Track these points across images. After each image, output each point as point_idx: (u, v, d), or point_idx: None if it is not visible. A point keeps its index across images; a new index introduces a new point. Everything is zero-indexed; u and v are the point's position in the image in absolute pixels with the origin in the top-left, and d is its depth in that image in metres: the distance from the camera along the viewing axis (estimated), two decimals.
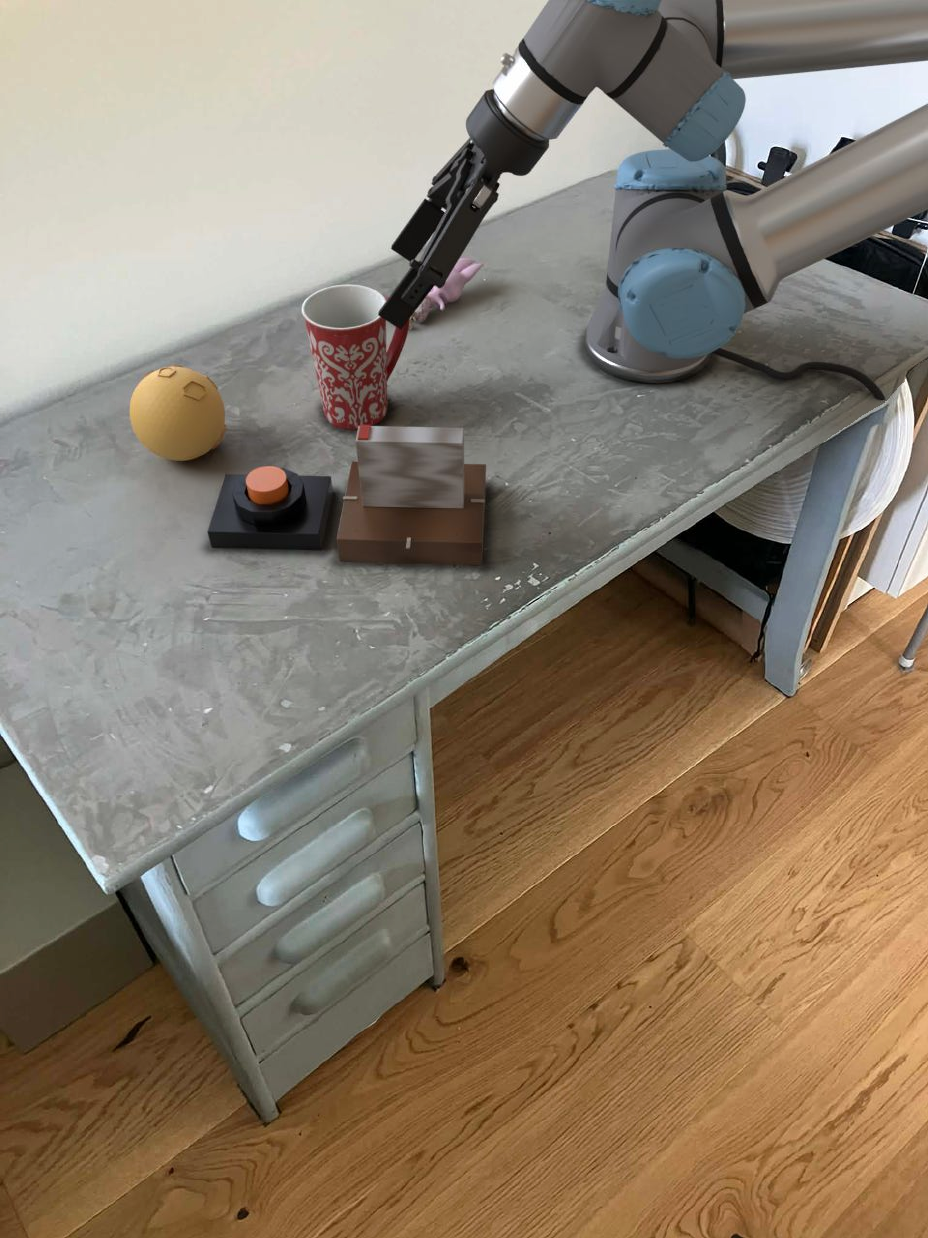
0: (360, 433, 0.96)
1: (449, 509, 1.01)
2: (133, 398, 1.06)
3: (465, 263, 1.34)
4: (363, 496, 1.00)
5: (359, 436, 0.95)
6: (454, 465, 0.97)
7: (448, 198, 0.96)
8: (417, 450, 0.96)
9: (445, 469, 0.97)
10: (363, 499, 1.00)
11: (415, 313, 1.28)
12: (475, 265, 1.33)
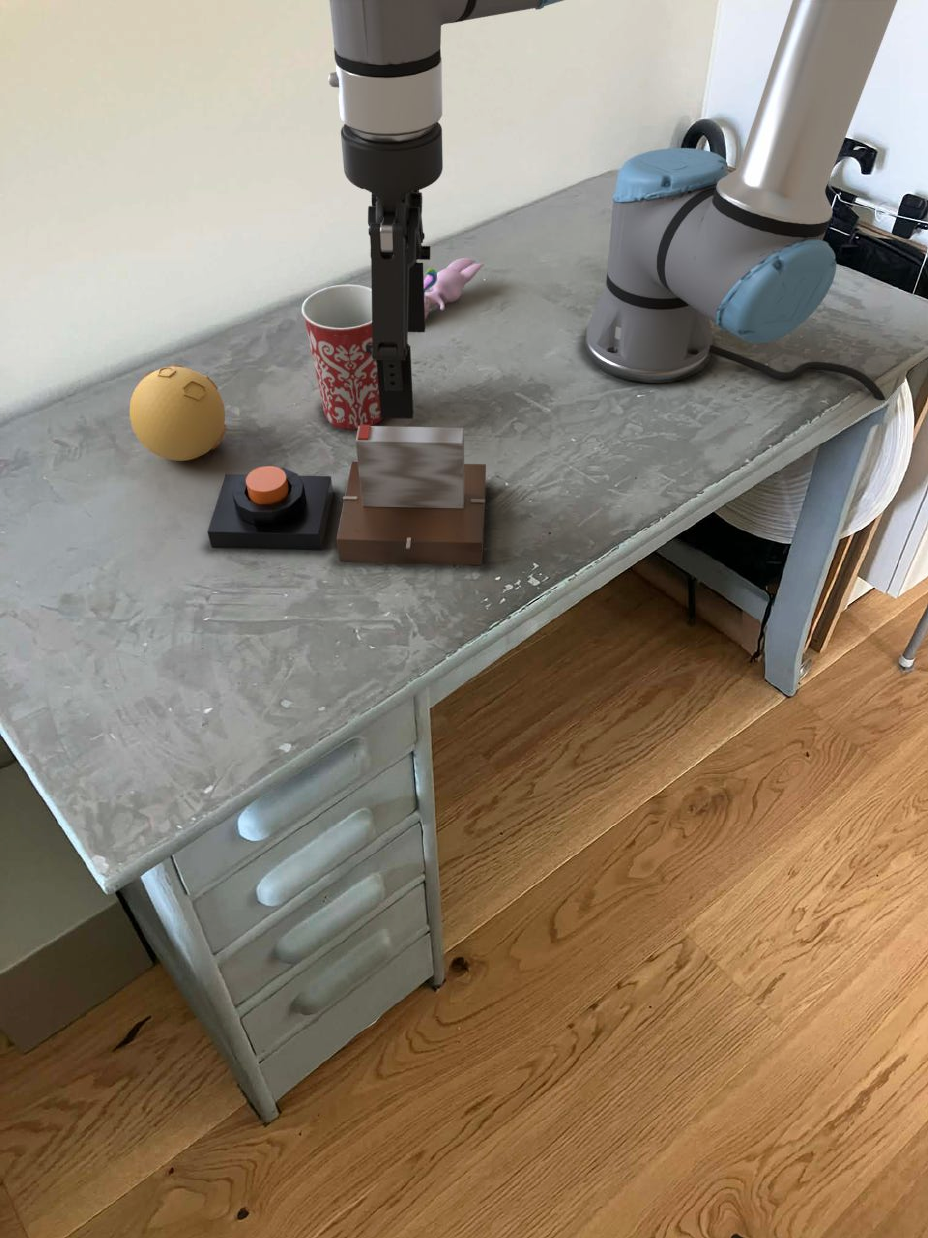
0: (360, 433, 0.96)
1: (449, 509, 1.01)
2: (133, 398, 1.06)
3: (465, 263, 1.34)
4: (363, 496, 1.00)
5: (359, 436, 0.95)
6: (454, 465, 0.97)
7: None
8: (417, 450, 0.96)
9: (445, 469, 0.97)
10: (363, 499, 1.00)
11: None
12: (475, 265, 1.33)
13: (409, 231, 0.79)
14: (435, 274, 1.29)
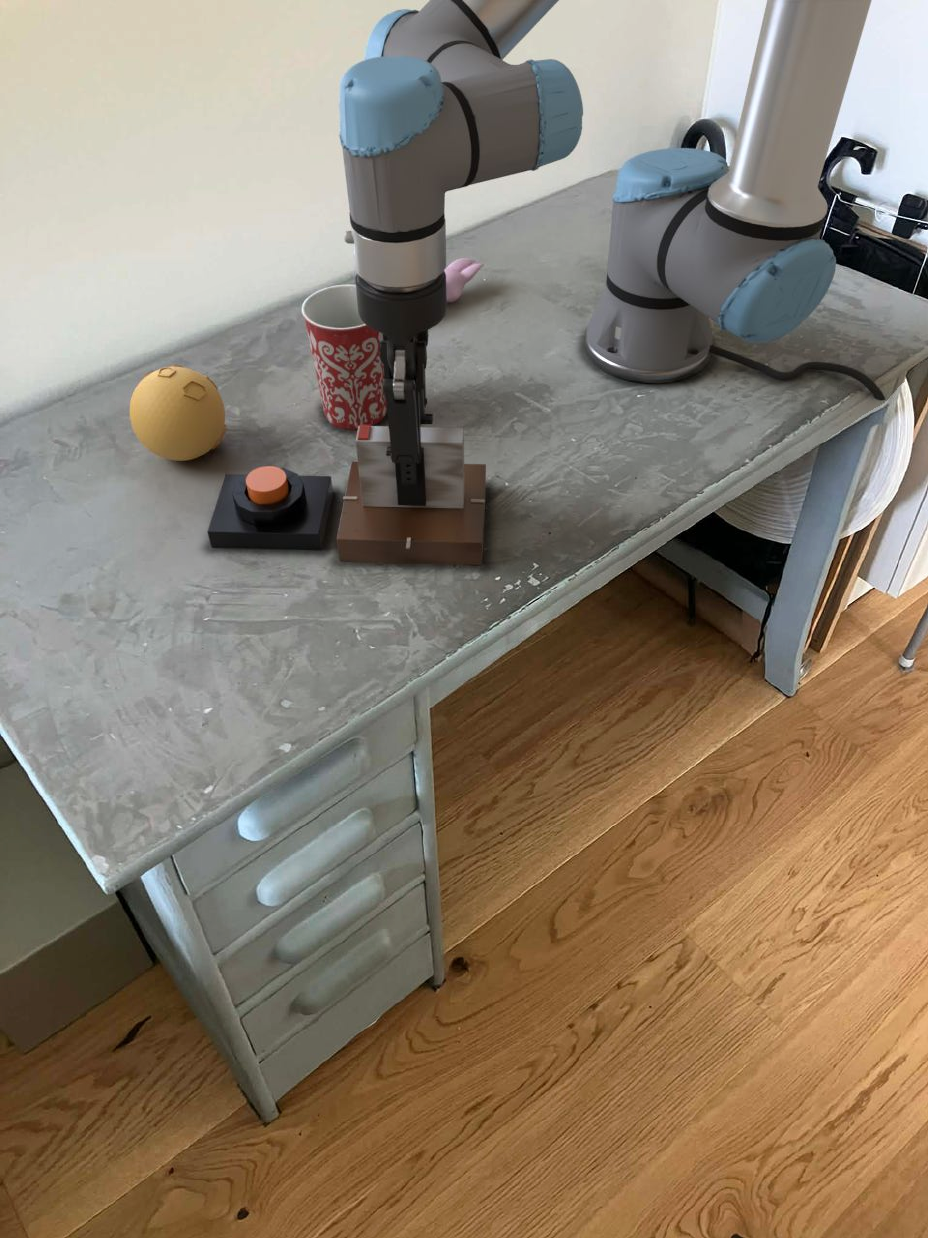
0: (360, 433, 0.96)
1: (449, 509, 1.01)
2: (133, 398, 1.06)
3: (465, 263, 1.34)
4: (363, 496, 1.00)
5: (359, 436, 0.95)
6: (454, 465, 0.97)
7: None
8: None
9: (445, 469, 0.97)
10: (363, 499, 1.00)
11: None
12: (475, 265, 1.33)
13: (417, 366, 0.88)
14: None
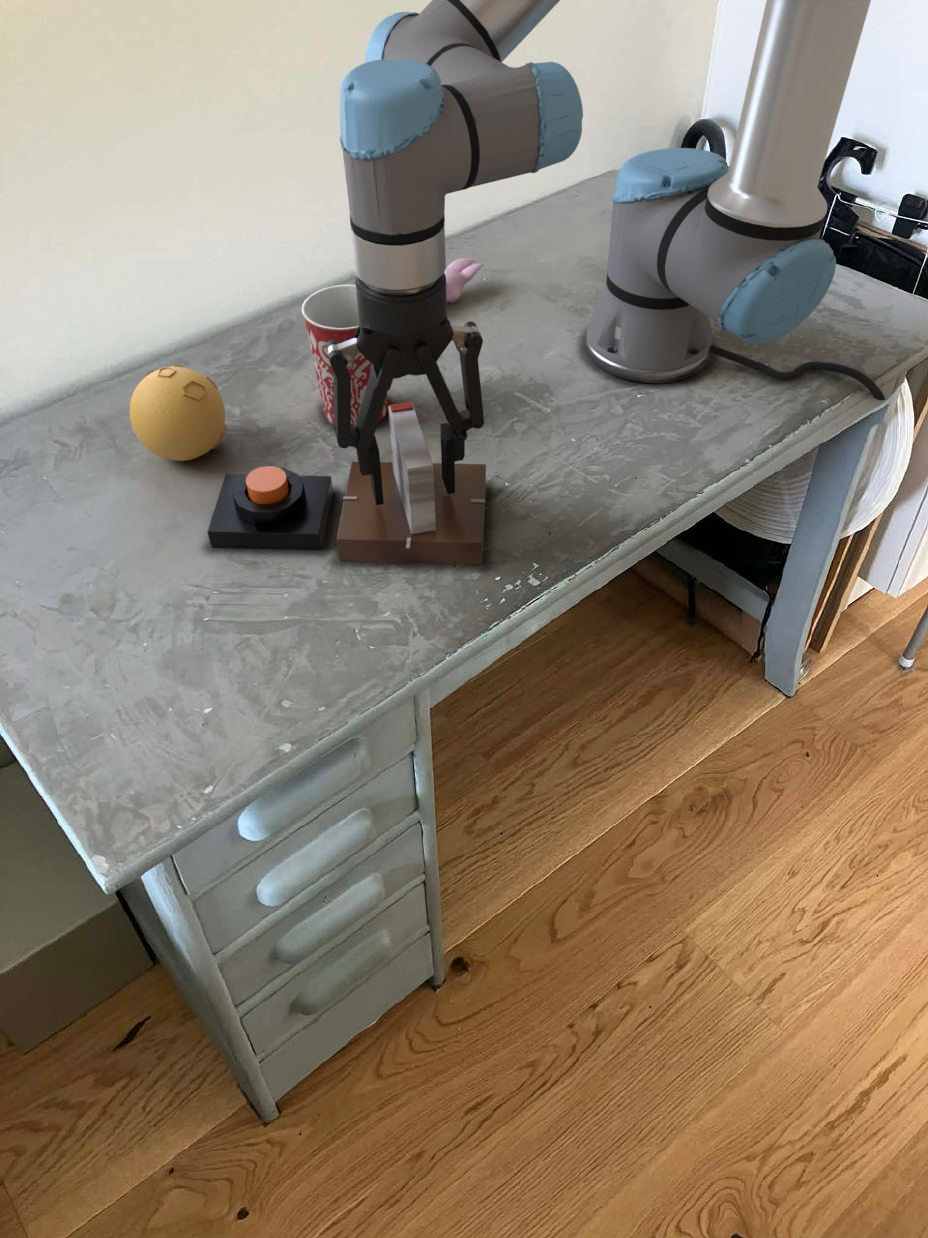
0: (397, 404, 0.99)
1: (449, 509, 1.01)
2: (133, 398, 1.06)
3: (465, 263, 1.34)
4: (392, 461, 1.04)
5: (392, 405, 0.99)
6: (407, 485, 0.95)
7: None
8: (399, 449, 0.96)
9: (405, 484, 0.96)
10: None
11: None
12: (475, 265, 1.33)
13: (381, 364, 0.88)
14: None
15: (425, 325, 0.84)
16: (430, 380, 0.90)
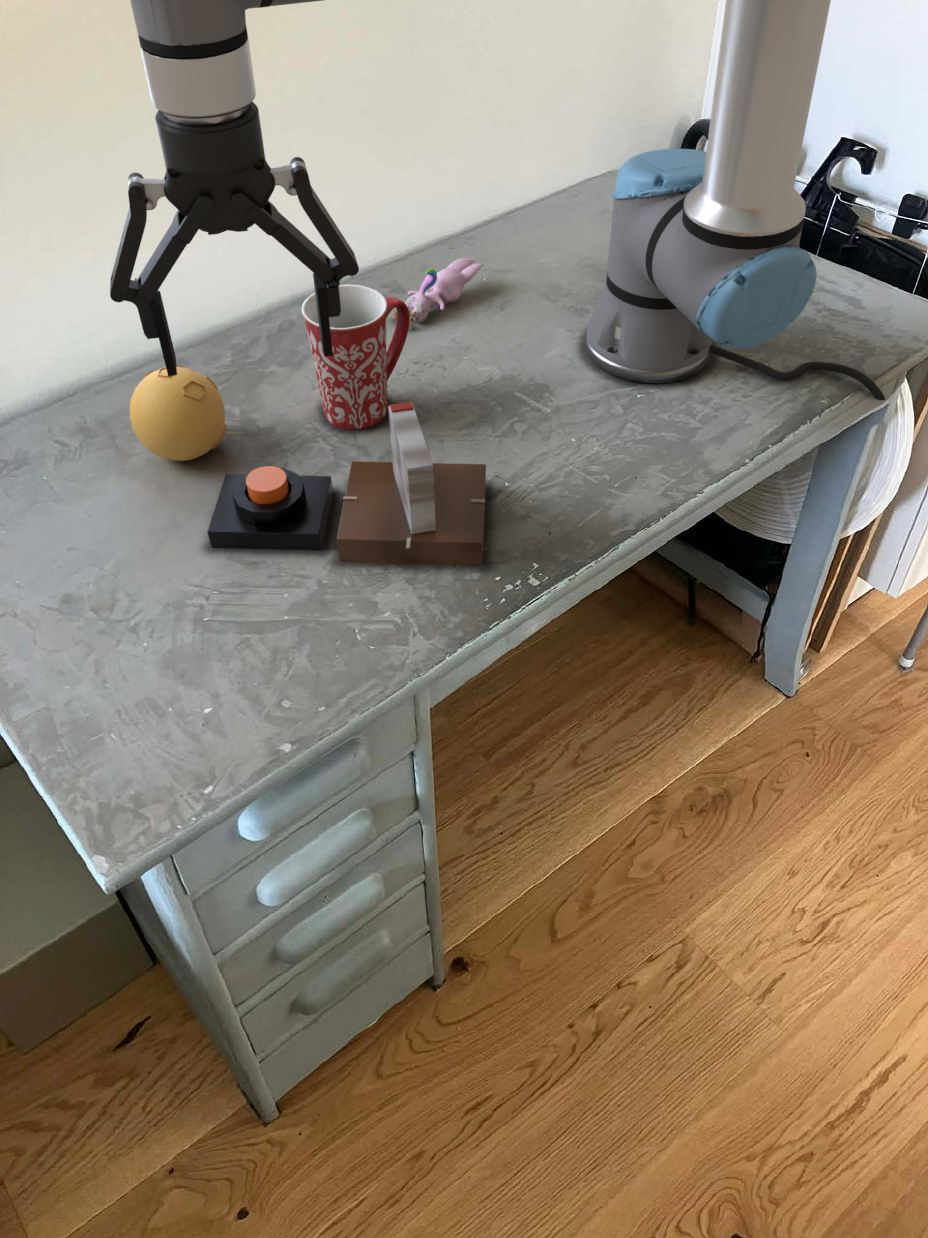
0: (397, 404, 0.99)
1: (449, 509, 1.01)
2: (133, 398, 1.06)
3: (465, 263, 1.34)
4: (392, 461, 1.04)
5: (392, 405, 0.99)
6: (407, 485, 0.95)
7: None
8: (399, 449, 0.96)
9: (405, 484, 0.96)
10: None
11: (415, 313, 1.28)
12: (475, 265, 1.33)
13: (189, 210, 0.79)
14: (435, 274, 1.29)
15: (233, 163, 0.75)
16: (265, 230, 0.81)
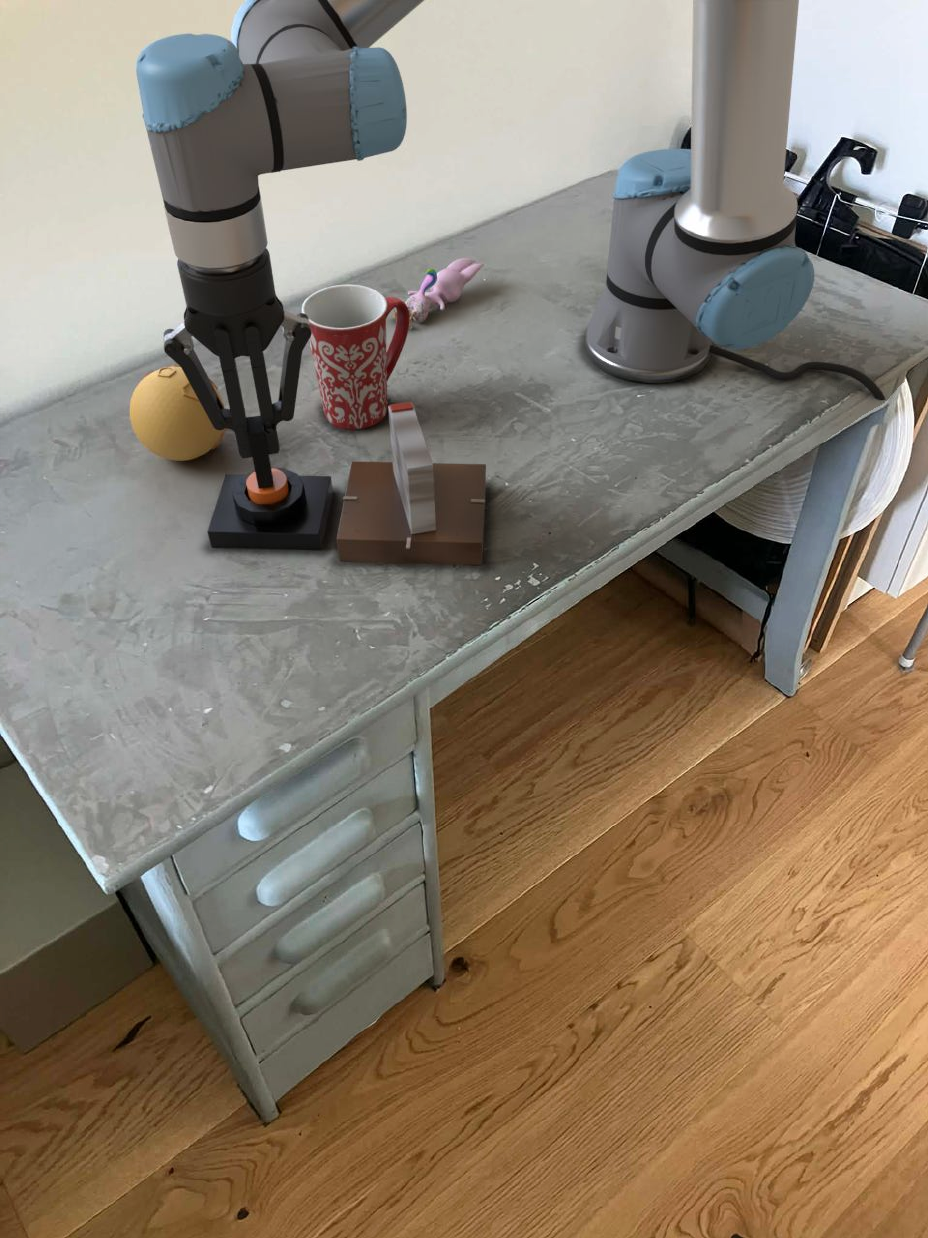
0: (397, 404, 0.99)
1: (449, 509, 1.01)
2: (133, 398, 1.06)
3: (465, 263, 1.34)
4: (392, 461, 1.04)
5: (392, 405, 0.99)
6: (407, 485, 0.95)
7: None
8: (399, 449, 0.96)
9: (405, 484, 0.96)
10: None
11: (415, 313, 1.28)
12: (475, 265, 1.33)
13: (217, 347, 0.88)
14: (435, 274, 1.29)
15: (247, 305, 0.83)
16: (252, 363, 0.89)
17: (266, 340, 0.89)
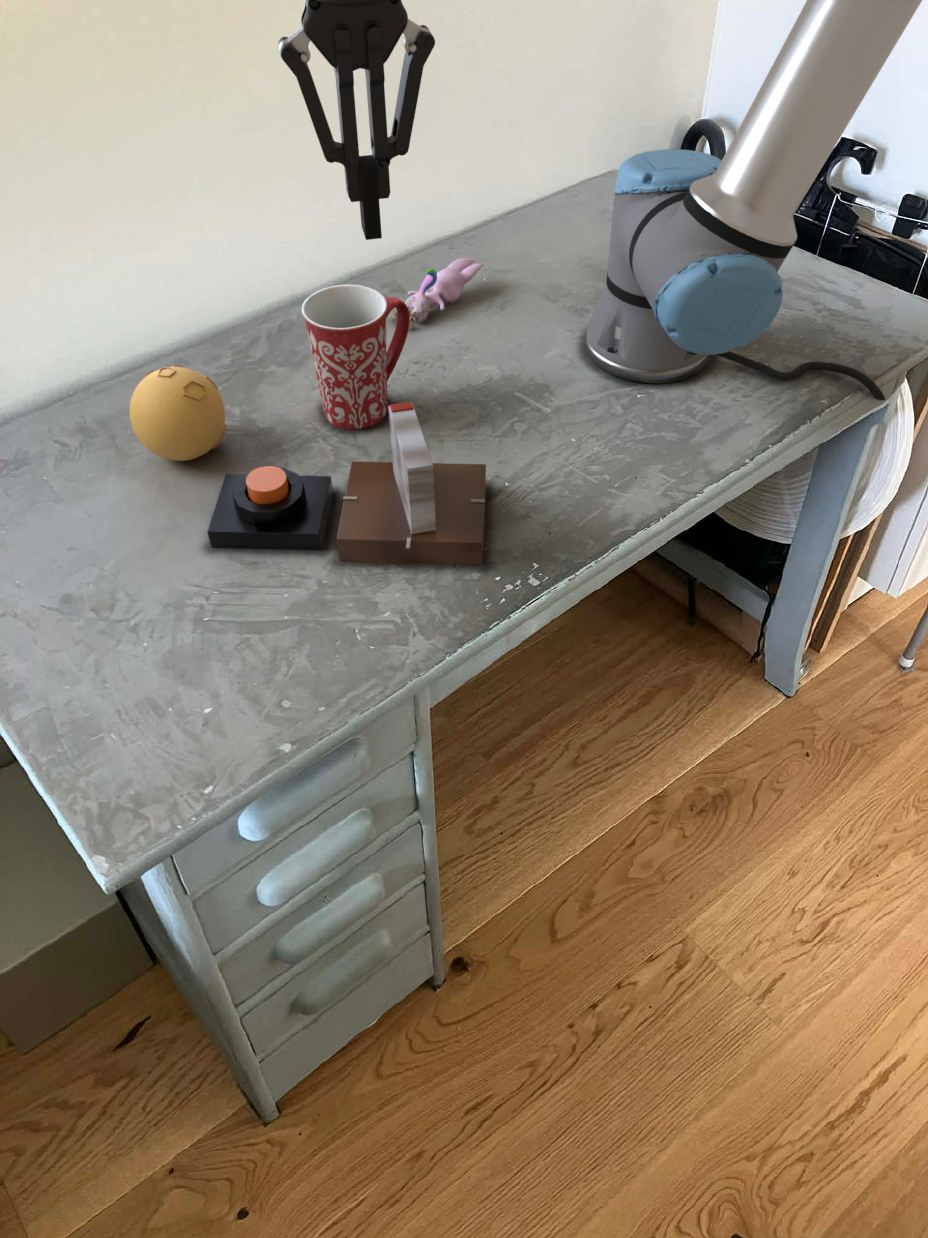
0: (397, 404, 0.99)
1: (449, 509, 1.01)
2: (133, 398, 1.06)
3: (465, 263, 1.34)
4: (392, 461, 1.04)
5: (392, 405, 0.99)
6: (407, 485, 0.95)
7: None
8: (399, 449, 0.96)
9: (405, 484, 0.96)
10: None
11: (415, 313, 1.28)
12: (475, 265, 1.33)
13: (336, 54, 0.82)
14: (435, 274, 1.29)
15: None
16: (371, 76, 0.84)
17: (387, 49, 0.83)
